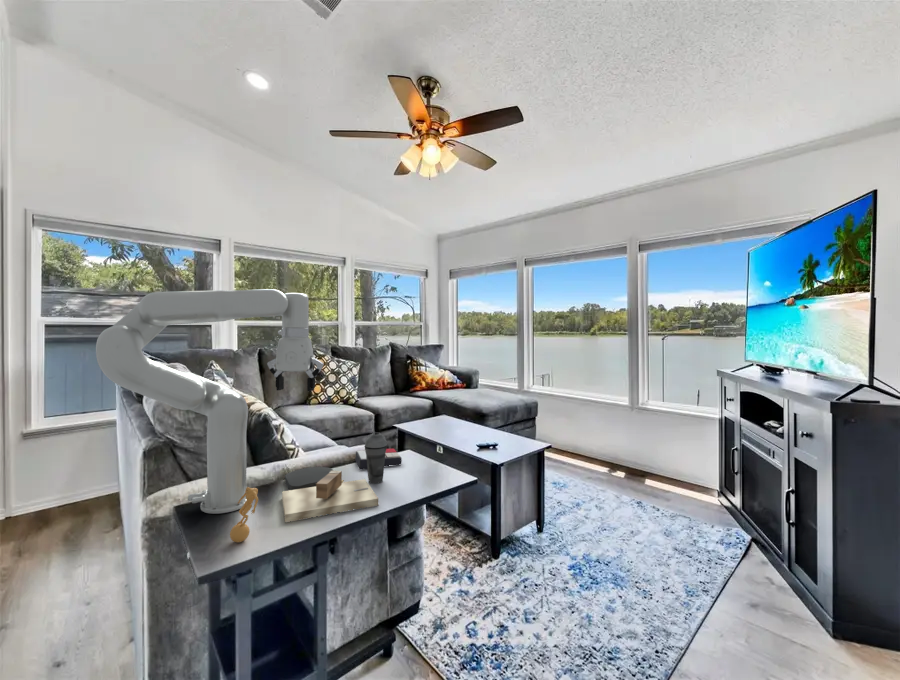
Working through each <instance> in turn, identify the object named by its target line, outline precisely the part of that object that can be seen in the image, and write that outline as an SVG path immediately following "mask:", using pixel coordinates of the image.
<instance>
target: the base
mask: <svg viewBox="0 0 900 680" xmlns="http://www.w3.org/2000/svg"><path fill="white" fill-rule="evenodd" d="M281 500H282V501H281V502H282V507H283V508H284V509H283V508H282V509H283V516H285V517H284V522H285V523H289V522H290V521H291V522H295V521H300V520H305V519H306V518H307V519H312V518H311V517H313V518H317V517H316V516H318V517H321V516H320V515H323V516H327V515H326V514H329V515H333V514H332V513H334V514H338V513H337V512H340V513H344V512H343V511H345V512H349V511H348V510H351V511H354V510H353V509H356V510H360V508H362V509H366V508H365V507H367V508H372V507H377V506H379V497H378V495H377V494H376V493H375V492H374V490H373V488H372V487H371V485H370V483H369V482H368V481H367V480H366V479H365V478H364V479H363V478H362V479H356V480H351V481H350V480H349V481H345V480H343V479H342V485H341V486H340V487H339V488H338V489H337V490H336V491H335V492H334V495H332V496H329V497H328V498H327V499H322V498H316V486H315V487H309V488H302V489H296V490H289V489H288V490H284V491H282V492H281Z"/></svg>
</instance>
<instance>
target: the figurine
mask: <svg viewBox="0 0 900 680" xmlns="http://www.w3.org/2000/svg"><path fill="white" fill-rule="evenodd" d="M258 492H259V489H258V488H256V487H249V486H246V491H245V494H244V495H243V496H242V497H241V499H240V500H239V502H240V501H241V500H242V499H243V498H244V497H245V496H246V502H245V503H244V505H243V506H242V508H241V509H238V510H239V511H238V514H239V515H241V516H242V518H241V519H240V521H238V522H237V523H236V524H234V526H232V528H231V529H230V531H229V538H230V539H231V541H233V542H234V543H242V542H244V541H245V540H247V539H248V537H249V535H250V527H249V525H248V524H246V523H247V521H248V520H249V515H248V513H249V511H250V512H251V515H254V514H255V512H256V508H257V505H258V502H259V497H258ZM254 500H255V503H254V506H252V504H253V502H254ZM239 502H238V503H239ZM252 508H253V509H252ZM251 509H252V510H251Z"/></svg>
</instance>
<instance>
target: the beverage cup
mask: <svg viewBox="0 0 900 680" xmlns="http://www.w3.org/2000/svg"><path fill="white" fill-rule="evenodd" d="M371 428H372V433H371V434H369V435H368V436H367V438H366V439H365V442H364V446H363V447H364V450H365V452H366V459H367V469H366V471H367V478H368V484H370V485H371V484H372V485H378V484H381V483H383V481H384V473H385V472H384V470H385V467H384V463H385V452H386V449H388V448H387V447H388V441H387V439H386V437H385V436H384V435H383V434H382V433H380V432H376V431H375V426H374V419H371Z"/></svg>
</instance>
